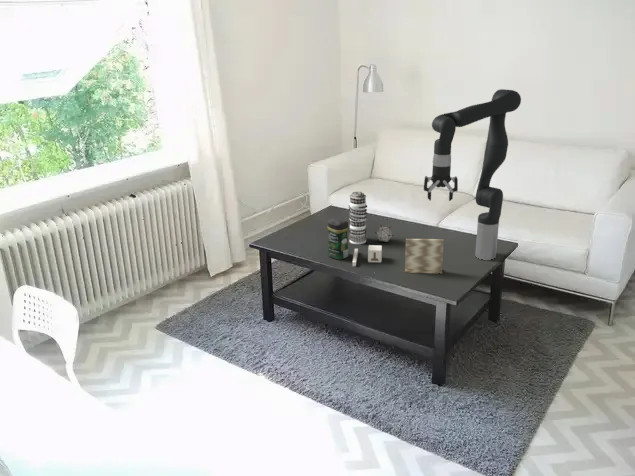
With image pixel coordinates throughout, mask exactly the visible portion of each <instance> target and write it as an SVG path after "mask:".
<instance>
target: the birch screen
mask: <svg viewBox="0 0 635 476" xmlns="http://www.w3.org/2000/svg"><path fill="white" fill-rule="evenodd" d="M444 241H445V240H444V239H443V238H442V239H440V238H436V239H435V238H405V255H404V256H405V261H404V263H405V264H404V273H407V274H411V273H412V274H439V273H440V275H442V274H443V262H444V261H443V258H444Z"/></svg>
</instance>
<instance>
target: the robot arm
mask: <svg viewBox="0 0 635 476" xmlns="http://www.w3.org/2000/svg"><path fill="white" fill-rule="evenodd" d="M521 102H522V97H521V94H520V93H519V92H518V91H516V90H514V89H513V90H512V89H502V88H500V89H498V90H496V91H495V92H494V93H493V94H492V97H491V101H486V102H482V103H477V104H473V105H469V106H466V107H463V108H461V109H459V110H455V111H450V112H446V113H442V114H439V115H437V116H436V117H434V118H433V120H432V123H431V127H432V129H433V130H434V132H436V133H439V138H437V139H435V140H434V144H433V158H432V174H431V176H428V175H427V176H426V175H425V176H424V180H423V181H424V182H423V191H424V192H427V200H428V201H432V191H433V190H434V189H435V188H436V187H437V188H447V189H448V190H449V194H448V201H452V200H453V198H454V193H455V192H458V190H459V188H458V176H454V177H453V176H452V177H451V165H452V143H453V139H454V137H455V133H456V128H463V127H465V126H469V125H471V124H473V123H476V122H479V121H481V120H484V119H487V118H489V125H488V131H487V138H486V143H485V144H486V145H485V148H484V156H483V163H482V168H481V172H480V177H479V181H478V184H477V189H476V193H475V204H476V205H477V206H480V207H483V208H488V212H487V211H486V212H481V213H479V215H478V216H477V227H476V228H477V229H476V241H475V242H476V243H475V253H474V254H475V255H474V256H476V257H477V258H476V257H475V258H476V259H478V258H479V259H478V260H481V259H483V260H482V261H492V260H491V259H493V260H495V259H496V258H497V250H498V247H497V246H498V239H499V238H498V235H499V226H500V218H501V214H502V207H503V201H504V193H503V190H502V189H501V188H498V187H493V186H492V187H491V185H490V184H491V180H492V177H493V176H494V174H495V173H496V171H497V170H498V169H499V168H500V167H501V166H502V165H503V163H504V162H505V160H506V158H507V154H508V147H509V139H508V134H507V131H506V124H505V123H506V122H505V121H506V115H507V113H512V112H514V111H517V109H518V108H519V107H520V105H521ZM430 181H431V182H432V183H431V184H430V186H429V187H428V183H430ZM451 181H452V183H453V185H454V187H452V186H451V185H450V184H449V183H451ZM494 258H495V259H494Z"/></svg>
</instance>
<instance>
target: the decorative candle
mask: <svg viewBox="0 0 635 476" xmlns="http://www.w3.org/2000/svg"><path fill="white" fill-rule="evenodd" d="M366 197H367V195H366V194H365V193H364V192H362V191H354V192H352V193H351V194H350V195H349V205H348V217H349V221H350V222H349V223H350V224H349V227H348V232H349V235H348V236H349V237H348V239H349V241H348V242H349V243H350V244H354V245H362V244H365V243H366V242H367V235H368V234H367V224H366V223H367V222H366V221H367V218H368V216H366V215H367V214H368V209H367V208H368V205H367V200H366Z"/></svg>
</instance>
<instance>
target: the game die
mask: <svg viewBox="0 0 635 476" xmlns="http://www.w3.org/2000/svg"><path fill="white" fill-rule="evenodd" d="M391 227H392V226H389V227H386V226H382V225H381V224H380V227H379V229H377V231H376V232H374V233H375V234H376V236H377V238H378V241H377V242H385V243H386V244H389V242H390V239H392V237H394V236H395V235H393V233H392V230H391Z"/></svg>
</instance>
